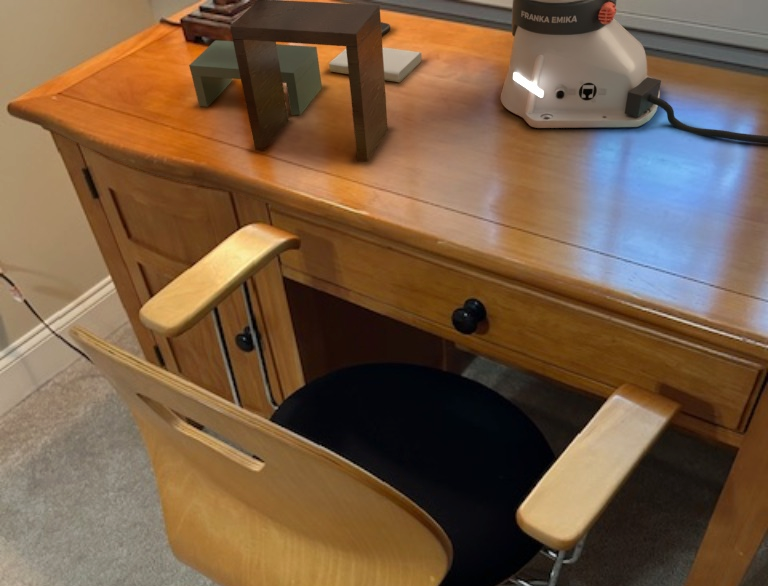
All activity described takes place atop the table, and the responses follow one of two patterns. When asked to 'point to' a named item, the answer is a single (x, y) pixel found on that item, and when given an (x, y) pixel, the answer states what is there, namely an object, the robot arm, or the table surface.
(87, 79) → the table surface
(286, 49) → the low shelf
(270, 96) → the high shelf
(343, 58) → the hard drive
